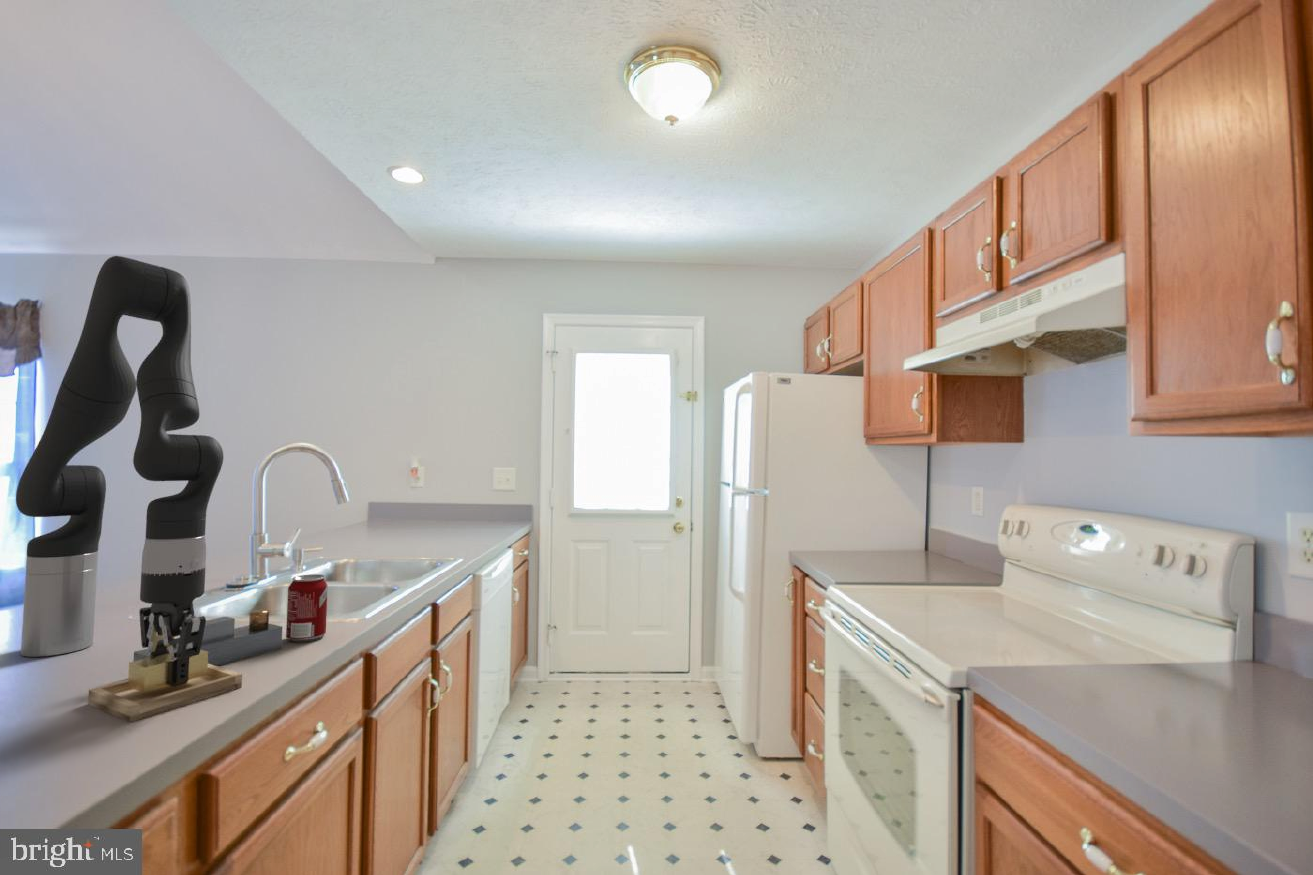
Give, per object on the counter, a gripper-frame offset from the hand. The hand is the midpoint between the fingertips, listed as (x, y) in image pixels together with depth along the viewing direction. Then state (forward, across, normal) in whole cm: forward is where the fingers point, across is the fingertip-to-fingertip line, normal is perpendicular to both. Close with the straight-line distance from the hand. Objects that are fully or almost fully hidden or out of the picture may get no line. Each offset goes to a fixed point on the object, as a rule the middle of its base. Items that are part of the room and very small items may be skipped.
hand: (168, 680), depth 88 cm
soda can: (+2, -9, +27) cm, 29 cm away
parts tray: (+2, 0, 0) cm, 2 cm away
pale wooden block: (0, 0, 0) cm, 0 cm away
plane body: (+2, -10, +11) cm, 15 cm away
